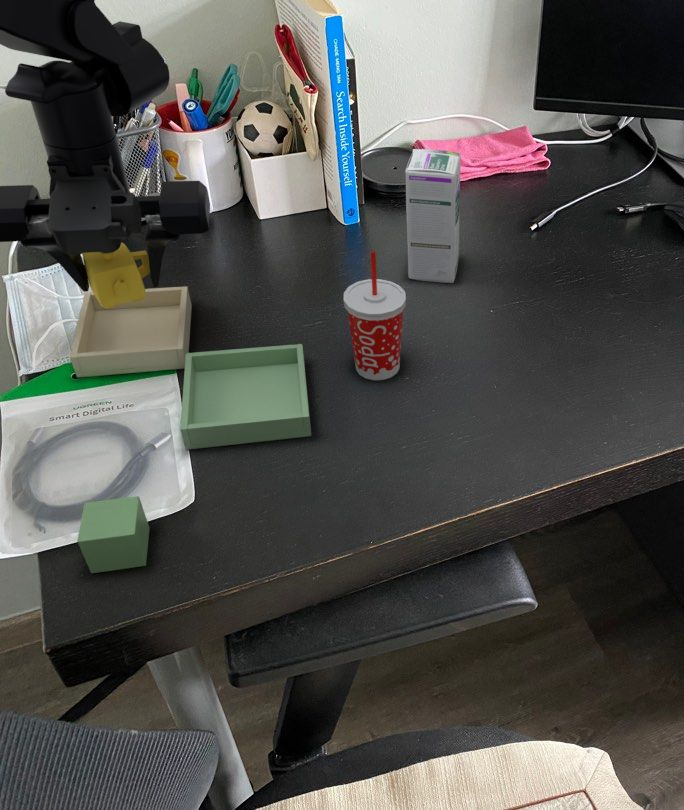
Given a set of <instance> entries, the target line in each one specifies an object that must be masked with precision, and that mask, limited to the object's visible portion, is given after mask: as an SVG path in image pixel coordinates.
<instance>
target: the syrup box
mask: <svg viewBox="0 0 684 810" xmlns="http://www.w3.org/2000/svg"><path fill="white" fill-rule="evenodd" d="M461 159H462V157H461V153H459V152H455V151H450V150H442V149H431V148H429V149H428V148H413V149H412V152H411V154H410V158H409V159H408V161H407V165H406V168H405V171H404V173H405V207H406V208H405V209H406V211H405V213H406V242H407V243H406V244H407V245H406V246H407V247H406V249H407V277H408V279H410V280H415V281H422V282H434V283H445V284H446V283H447V284H454V282H455V280H456V275H457V271H458V265H459V261H460V228H461V227H460V225H461V224H460V223H461V221H460V220H461V219H460V218H461V217H460V216H461V165H462V163H461Z"/></svg>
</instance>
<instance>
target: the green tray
mask: <svg viewBox="0 0 684 810" xmlns="http://www.w3.org/2000/svg"><path fill="white" fill-rule="evenodd" d="M183 372H184V374H183V375H184V376H183V389H182V400H181V402H182V403H181V416H180V428H179V430H180V433H181V438H182V441H183V445H184V449H185V451H189V450H198V449H205V448H213V447H215V448H217V447H223V446H224V447H225V446H232V445H243V444H252V443H260V442H269V441H279V440H289V439H297V438H307V437H312V426H311V416H310V406H309V396H308V395H309V394H308V387H307V385H308V383H307V375H306V373H307V372H306V364H305V354H304V346H303V343H298V344H296V343H295V344H283V345H272V346H271V345H269V346H259V347H258V346H257V347H248V348H247V347H246V348H234V349H222V350H209V351H196V352H189V353H186V358H185V369H184V371H183Z"/></svg>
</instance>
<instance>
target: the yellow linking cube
mask: <svg viewBox="0 0 684 810" xmlns="http://www.w3.org/2000/svg"><path fill="white" fill-rule="evenodd" d="M81 254H82V260H83V263H84V266H85V270H86V274H87V277H88V282H89V288H90V289H91V292H93V293H94V295H95V297H96V298H97V300H98V302H99V303H100V305H101V306H102V307H104V308H107V309H109V308H113V307H115V305H117V304H122V303H126V302H130V301H133V302H139V301H141V300H142V298H145V297H146V293H145V289H146V287H145V284H144V281H143V279H144V278H145V277H146V276H148V275H150V266H149V256H148V251H147V250H140V251H139V250H137V251H130V249H129V248H128V247H127V245H126V244H125V243H123V242H121V246H120V248H119V249H118V250H117V251H115V252H112V253H101V252H90V253H81ZM138 260H141V265H140V266H138V265H137V262H136V261H138Z"/></svg>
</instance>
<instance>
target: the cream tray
mask: <svg viewBox="0 0 684 810" xmlns="http://www.w3.org/2000/svg"><path fill="white" fill-rule="evenodd" d="M145 293H146V297H145V298H142V300H141V301H139V302H133V301H130V302H126V303H122V304H117V305H115V307H113V308H109V309H107V308H104V307H102V306H101V305H100V303H99V302H98V300H97V298H96V297H95V295H94V293H93V291H90V292H89V291H86V292H84V295H83V299H82V304H81V308H80V312H79V316H78V319H77V320H78V321H77V324H76V329H75V333H74V338H73V342H72V345H71V346H72V347H71V350H70V355H69V360H70V362H71V364H72V365H71V366H72V368H73V370H74V373H75V376H76V378H88V377H90V378H91V377H100V376H101V377H102V376H112V375H122V374H125V375H126V374H134V373H135V374H136V373H147V372H148V373H149V372H158V371H159V372H160V371H161V372H162V371H172V370H183V369H184V370H185V358H186V353H190V352H189V350H190V337H191V321H192V309H193V307H192V300H191V296H190V291H189V287H188V286H172V287H169V286H168V287H156V288H154V287H153V288H145Z"/></svg>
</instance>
